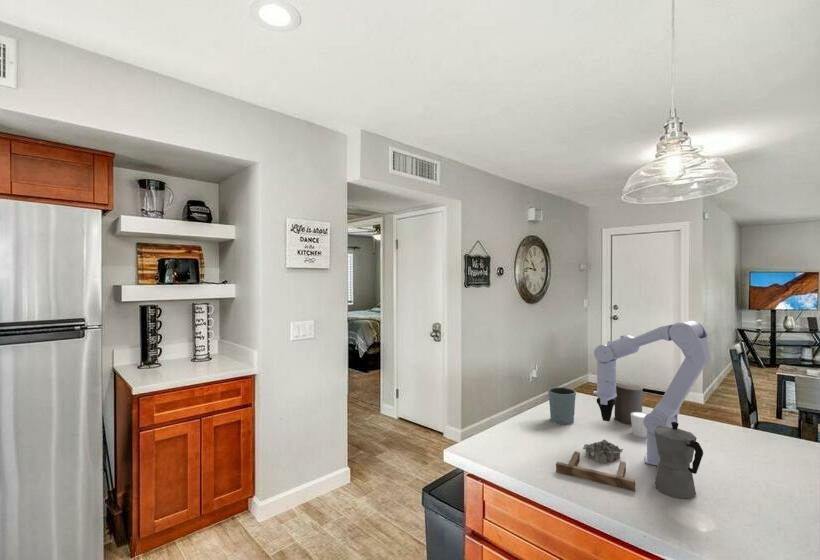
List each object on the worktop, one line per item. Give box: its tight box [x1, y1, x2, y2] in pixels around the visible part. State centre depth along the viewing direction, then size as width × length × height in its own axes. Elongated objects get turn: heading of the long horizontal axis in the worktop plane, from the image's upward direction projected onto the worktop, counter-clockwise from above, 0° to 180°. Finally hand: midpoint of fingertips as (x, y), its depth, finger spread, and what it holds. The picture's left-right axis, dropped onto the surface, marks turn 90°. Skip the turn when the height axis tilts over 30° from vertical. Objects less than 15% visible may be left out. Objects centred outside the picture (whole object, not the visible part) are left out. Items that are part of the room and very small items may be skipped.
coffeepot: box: [654, 422, 704, 500], centre depth 106 cm, size 15×9×18 cm, turn 6°
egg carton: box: [582, 439, 624, 464], centre depth 128 cm, size 11×8×4 cm
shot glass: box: [631, 411, 648, 438], centre depth 146 cm, size 7×7×7 cm
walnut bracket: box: [555, 451, 636, 492], centre depth 117 cm, size 20×12×2 cm, turn 58°
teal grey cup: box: [547, 386, 577, 426], centre depth 159 cm, size 10×10×12 cm
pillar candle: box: [613, 382, 644, 426], centre depth 159 cm, size 10×10×15 cm
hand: (606, 420), depth 137 cm, fingers closed
